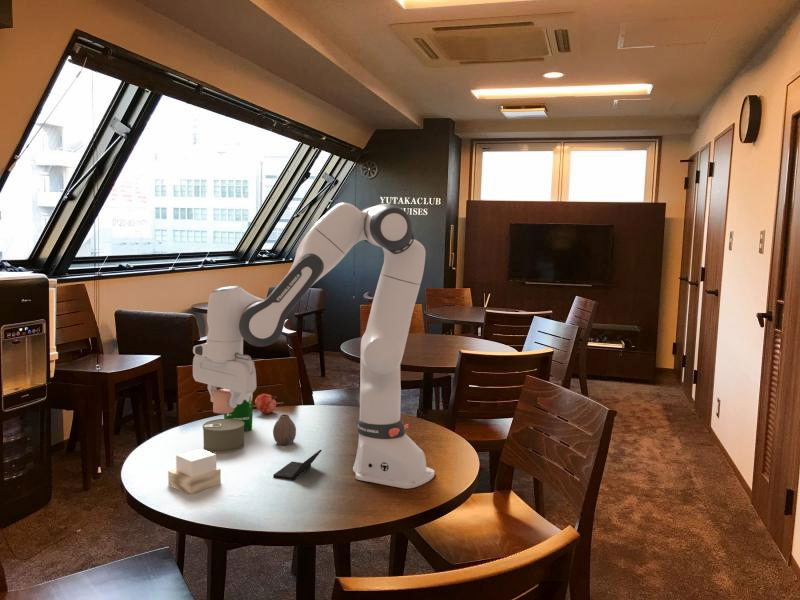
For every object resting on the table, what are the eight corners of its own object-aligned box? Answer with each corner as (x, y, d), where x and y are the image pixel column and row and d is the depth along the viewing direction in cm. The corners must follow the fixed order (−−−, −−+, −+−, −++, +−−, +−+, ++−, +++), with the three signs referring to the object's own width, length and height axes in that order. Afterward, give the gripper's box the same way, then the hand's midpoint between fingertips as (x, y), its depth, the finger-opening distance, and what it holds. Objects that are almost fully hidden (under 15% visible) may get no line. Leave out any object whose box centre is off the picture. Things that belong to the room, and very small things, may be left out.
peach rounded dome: (237, 410, 160) (238, 391, 160) (222, 414, 156) (222, 395, 155) (224, 406, 163) (225, 388, 162) (208, 410, 159) (209, 391, 158)
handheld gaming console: (284, 458, 175) (304, 433, 173) (304, 474, 176) (325, 449, 173) (269, 479, 164) (291, 453, 162) (291, 496, 165) (313, 470, 162)
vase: (298, 440, 196) (298, 412, 195) (292, 447, 189) (292, 418, 188) (276, 439, 196) (276, 411, 196) (270, 446, 190) (270, 417, 189)
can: (246, 451, 185) (246, 428, 184) (203, 455, 181) (203, 431, 180) (242, 438, 196) (242, 417, 196) (202, 442, 192) (201, 420, 192)
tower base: (220, 484, 161) (220, 469, 161) (190, 495, 154) (190, 479, 153) (198, 476, 166) (198, 461, 166) (168, 486, 159) (168, 471, 158)
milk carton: (247, 423, 212) (247, 364, 210) (255, 430, 204) (255, 369, 202) (221, 426, 208) (220, 367, 206) (228, 434, 200) (228, 372, 198)
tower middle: (216, 469, 160) (216, 454, 160) (191, 477, 155) (191, 461, 154) (200, 463, 165) (200, 448, 164) (176, 470, 159) (176, 454, 159)
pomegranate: (253, 422, 221) (273, 407, 218) (243, 404, 223) (263, 389, 220) (265, 418, 228) (285, 404, 225) (256, 401, 230) (275, 387, 227)
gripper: (263, 354, 155) (261, 410, 156) (208, 343, 166) (207, 395, 167) (243, 358, 150) (242, 415, 151) (188, 346, 161) (187, 399, 162)
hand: (223, 404), depth 159 cm, fingers closed on peach rounded dome, 5 cm apart
